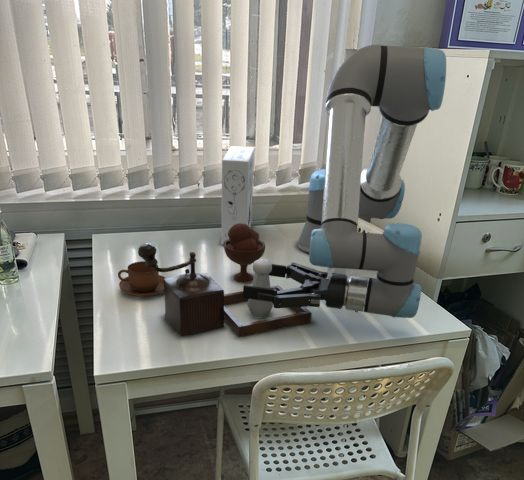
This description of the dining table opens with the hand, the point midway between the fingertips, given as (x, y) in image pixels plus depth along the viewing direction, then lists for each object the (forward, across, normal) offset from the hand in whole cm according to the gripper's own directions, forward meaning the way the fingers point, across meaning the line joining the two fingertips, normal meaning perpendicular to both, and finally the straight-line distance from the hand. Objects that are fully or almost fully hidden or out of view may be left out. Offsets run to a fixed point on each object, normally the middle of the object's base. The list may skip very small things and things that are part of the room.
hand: (251, 279), depth 116 cm
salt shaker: (-2, 0, -9) cm, 9 cm away
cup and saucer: (+28, +4, -9) cm, 29 cm away
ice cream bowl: (+7, +19, -9) cm, 22 cm away
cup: (-18, +19, -9) cm, 27 cm away
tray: (-2, 0, -8) cm, 9 cm away
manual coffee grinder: (+13, -10, -9) cm, 18 cm away
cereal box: (+18, +52, -9) cm, 56 cm away
